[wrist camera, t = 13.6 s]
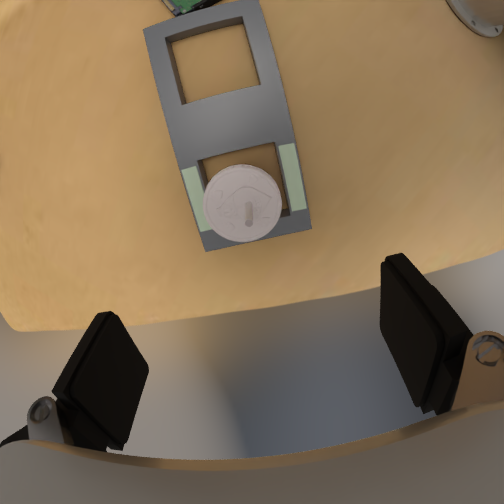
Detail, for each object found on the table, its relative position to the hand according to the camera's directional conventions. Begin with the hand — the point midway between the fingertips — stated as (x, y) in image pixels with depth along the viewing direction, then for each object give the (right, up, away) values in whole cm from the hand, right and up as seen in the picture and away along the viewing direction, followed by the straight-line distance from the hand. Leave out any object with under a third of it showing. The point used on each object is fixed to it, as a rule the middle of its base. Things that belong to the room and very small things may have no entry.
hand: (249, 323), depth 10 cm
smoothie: (-1, +10, +22) cm, 25 cm away
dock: (-2, +16, +19) cm, 25 cm away
